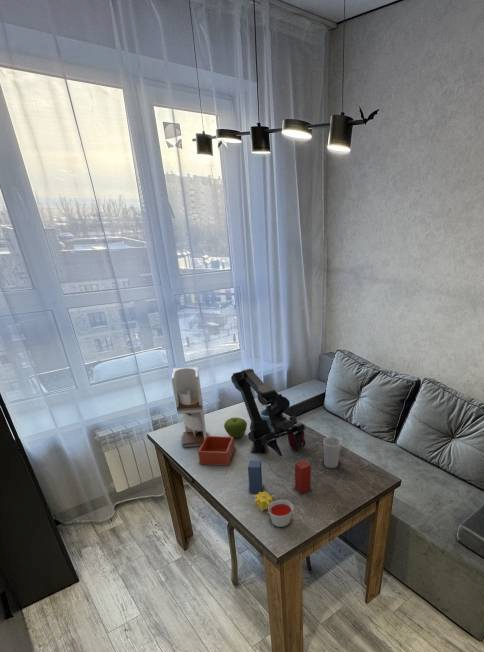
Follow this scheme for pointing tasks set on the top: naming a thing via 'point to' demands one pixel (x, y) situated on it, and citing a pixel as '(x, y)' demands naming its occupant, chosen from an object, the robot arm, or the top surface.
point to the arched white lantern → (189, 404)
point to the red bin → (216, 450)
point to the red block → (302, 476)
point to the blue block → (255, 476)
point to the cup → (331, 451)
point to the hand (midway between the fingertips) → (291, 452)
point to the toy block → (263, 500)
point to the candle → (280, 512)
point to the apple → (235, 427)
